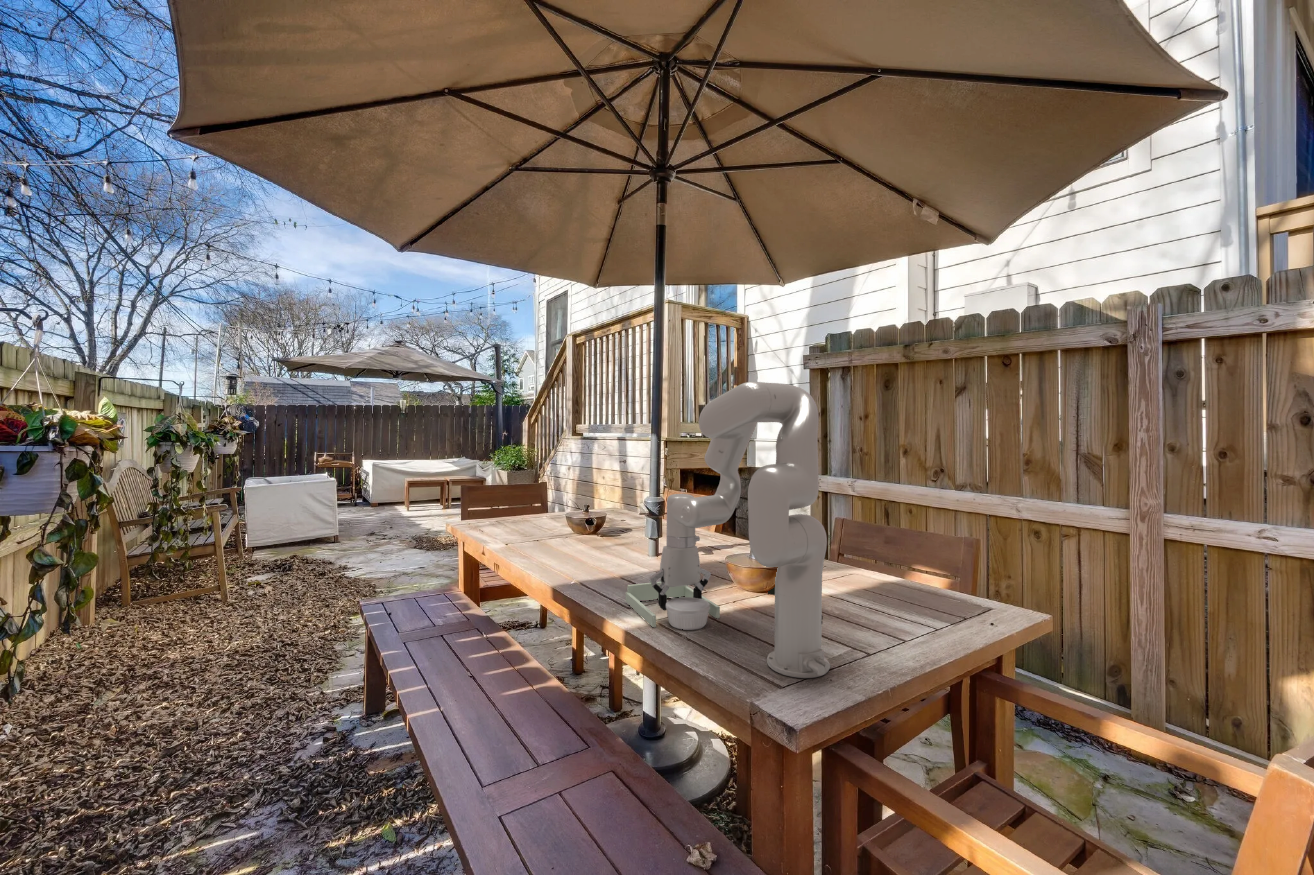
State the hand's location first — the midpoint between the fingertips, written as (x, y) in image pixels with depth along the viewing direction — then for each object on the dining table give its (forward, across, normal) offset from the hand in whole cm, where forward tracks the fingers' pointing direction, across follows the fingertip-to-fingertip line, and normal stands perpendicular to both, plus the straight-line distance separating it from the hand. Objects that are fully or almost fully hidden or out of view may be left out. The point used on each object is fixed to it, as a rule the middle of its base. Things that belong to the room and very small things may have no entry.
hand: (680, 606), depth 144 cm
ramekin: (+3, 0, +5) cm, 6 cm away
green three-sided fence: (+3, 0, -7) cm, 7 cm away
